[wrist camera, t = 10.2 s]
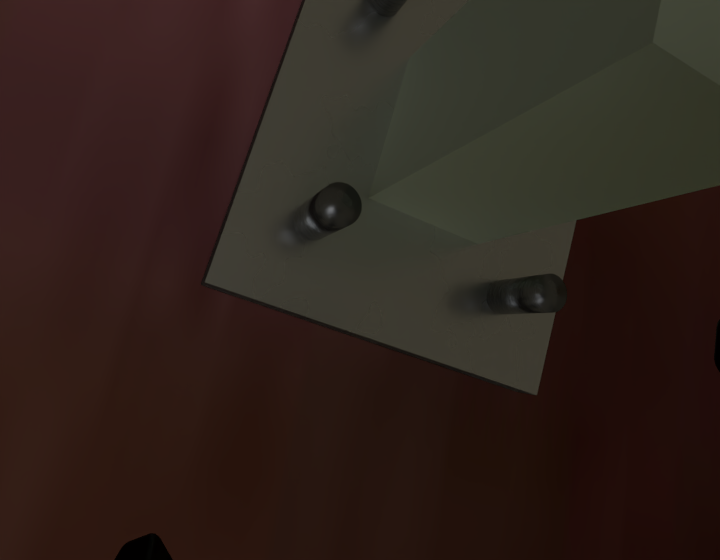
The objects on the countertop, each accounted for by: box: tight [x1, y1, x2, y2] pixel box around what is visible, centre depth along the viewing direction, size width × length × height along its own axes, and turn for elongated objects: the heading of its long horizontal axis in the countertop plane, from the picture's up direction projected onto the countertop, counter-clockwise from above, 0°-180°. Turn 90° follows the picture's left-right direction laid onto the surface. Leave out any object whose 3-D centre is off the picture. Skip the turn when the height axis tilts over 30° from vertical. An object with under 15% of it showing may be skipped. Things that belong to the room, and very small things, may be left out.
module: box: [368, 0, 720, 244], centre depth 17 cm, size 6×5×12 cm
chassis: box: [201, 0, 576, 395], centre depth 22 cm, size 16×14×4 cm
